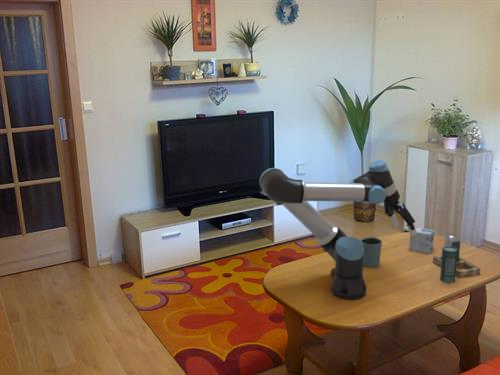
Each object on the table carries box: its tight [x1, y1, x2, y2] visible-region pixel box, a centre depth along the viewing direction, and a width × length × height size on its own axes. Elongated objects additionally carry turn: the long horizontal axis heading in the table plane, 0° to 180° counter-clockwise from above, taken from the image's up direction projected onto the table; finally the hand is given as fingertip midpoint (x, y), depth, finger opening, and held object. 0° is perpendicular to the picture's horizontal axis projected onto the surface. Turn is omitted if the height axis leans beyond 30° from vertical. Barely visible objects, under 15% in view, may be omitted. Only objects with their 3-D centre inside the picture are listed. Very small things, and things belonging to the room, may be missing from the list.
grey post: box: [443, 232, 461, 261], centre depth 244 cm, size 6×7×15 cm
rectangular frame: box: [432, 254, 482, 279], centre depth 242 cm, size 12×19×3 cm, turn 17°
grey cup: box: [360, 236, 383, 268], centre depth 249 cm, size 10×10×12 cm
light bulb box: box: [409, 227, 435, 254], centre depth 264 cm, size 11×7×11 cm, turn 58°
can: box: [439, 246, 458, 284], centre depth 229 cm, size 6×6×15 cm
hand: (405, 231), depth 235 cm, fingers open, 13 cm apart
